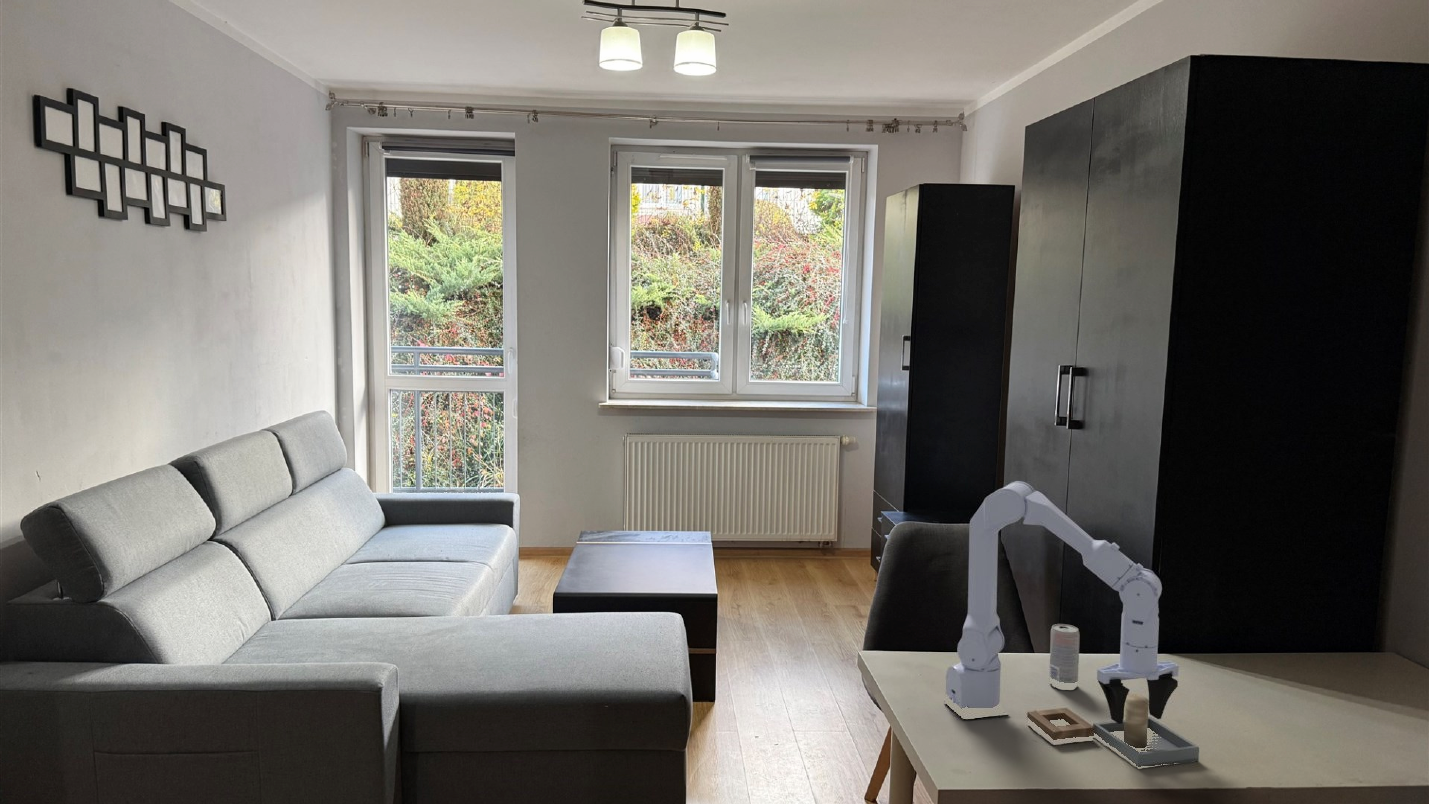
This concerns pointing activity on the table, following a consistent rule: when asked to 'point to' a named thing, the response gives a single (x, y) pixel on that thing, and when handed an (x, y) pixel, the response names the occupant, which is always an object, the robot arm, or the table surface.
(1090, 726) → the frame
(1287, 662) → the table surface
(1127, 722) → the dowel
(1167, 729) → the tray
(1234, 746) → the table surface
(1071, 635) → the energy drink
